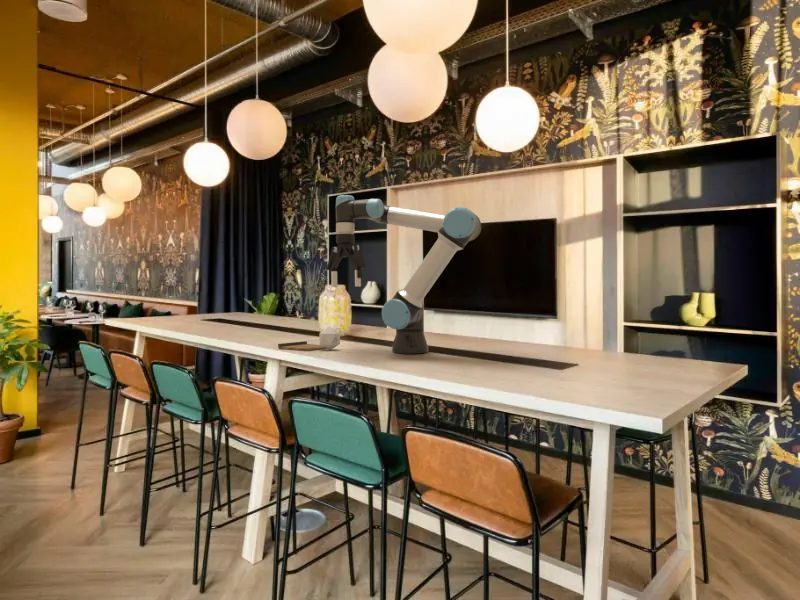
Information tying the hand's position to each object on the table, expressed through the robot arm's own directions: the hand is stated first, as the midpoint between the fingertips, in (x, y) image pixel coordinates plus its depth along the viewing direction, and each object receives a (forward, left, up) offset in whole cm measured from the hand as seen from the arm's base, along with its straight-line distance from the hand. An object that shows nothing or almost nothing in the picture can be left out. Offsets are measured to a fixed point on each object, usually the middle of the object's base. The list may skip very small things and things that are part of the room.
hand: (346, 286), depth 221 cm
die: (+9, 0, -27) cm, 28 cm away
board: (+23, 0, -26) cm, 35 cm away
